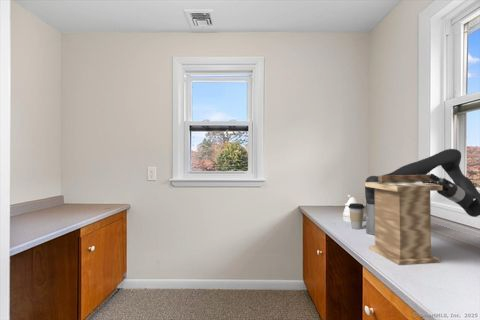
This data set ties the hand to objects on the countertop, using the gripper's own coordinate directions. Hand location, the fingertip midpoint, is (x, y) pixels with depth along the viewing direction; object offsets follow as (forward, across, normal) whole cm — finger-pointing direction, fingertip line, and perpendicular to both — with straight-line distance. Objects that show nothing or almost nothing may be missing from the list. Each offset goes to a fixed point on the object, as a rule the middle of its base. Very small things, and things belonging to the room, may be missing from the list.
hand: (423, 175), depth 140 cm
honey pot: (-17, -67, +31) cm, 76 cm away
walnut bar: (+6, 0, +7) cm, 10 cm away
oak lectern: (-4, +6, +39) cm, 39 cm away
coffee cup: (-10, -46, +35) cm, 59 cm away
